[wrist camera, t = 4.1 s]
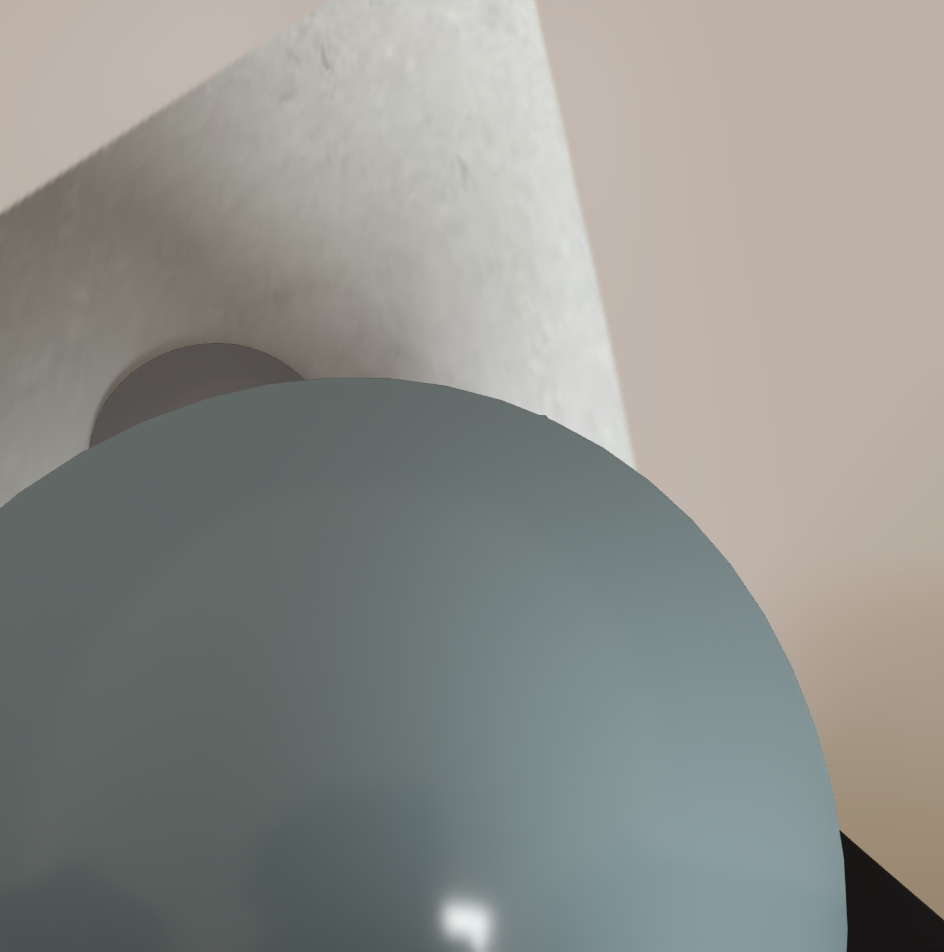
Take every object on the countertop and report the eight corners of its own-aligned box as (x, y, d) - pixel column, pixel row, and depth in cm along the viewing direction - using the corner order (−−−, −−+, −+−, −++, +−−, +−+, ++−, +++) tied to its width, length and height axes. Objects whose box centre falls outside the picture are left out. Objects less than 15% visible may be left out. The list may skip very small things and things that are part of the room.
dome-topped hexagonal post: (545, 660, 16) (1013, 850, 4) (375, 843, 15) (298, 2057, 2) (392, 496, 17) (397, 215, 4) (210, 658, 15) (-566, 921, 3)
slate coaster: (376, 471, 18) (376, 469, 18) (185, 616, 17) (181, 616, 16) (243, 307, 19) (241, 302, 18) (45, 433, 17) (39, 430, 17)
